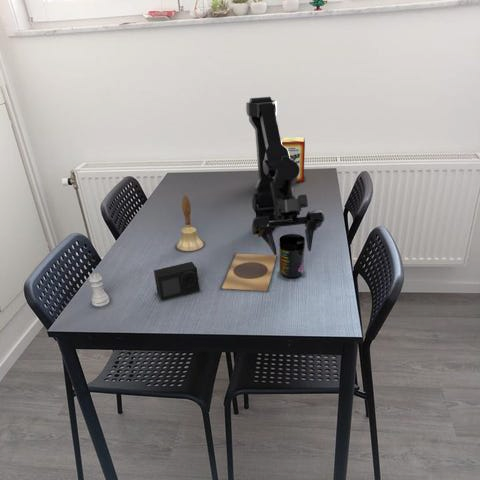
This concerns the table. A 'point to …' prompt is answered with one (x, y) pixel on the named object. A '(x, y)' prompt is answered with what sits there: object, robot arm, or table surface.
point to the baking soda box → (296, 153)
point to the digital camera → (176, 280)
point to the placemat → (250, 272)
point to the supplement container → (291, 256)
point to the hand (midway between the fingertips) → (292, 252)
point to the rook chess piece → (98, 291)
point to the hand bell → (188, 230)
